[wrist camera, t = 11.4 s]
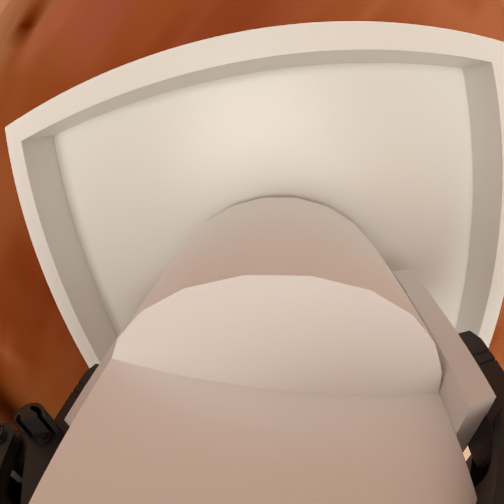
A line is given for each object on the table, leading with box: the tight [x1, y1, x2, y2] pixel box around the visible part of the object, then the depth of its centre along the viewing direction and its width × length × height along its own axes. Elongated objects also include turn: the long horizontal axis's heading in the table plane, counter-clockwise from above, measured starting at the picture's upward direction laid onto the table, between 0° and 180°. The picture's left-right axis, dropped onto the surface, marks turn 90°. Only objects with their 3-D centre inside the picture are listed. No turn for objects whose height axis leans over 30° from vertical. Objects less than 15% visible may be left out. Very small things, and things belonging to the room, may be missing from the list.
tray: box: [5, 21, 504, 368], centre depth 12 cm, size 20×20×3 cm
